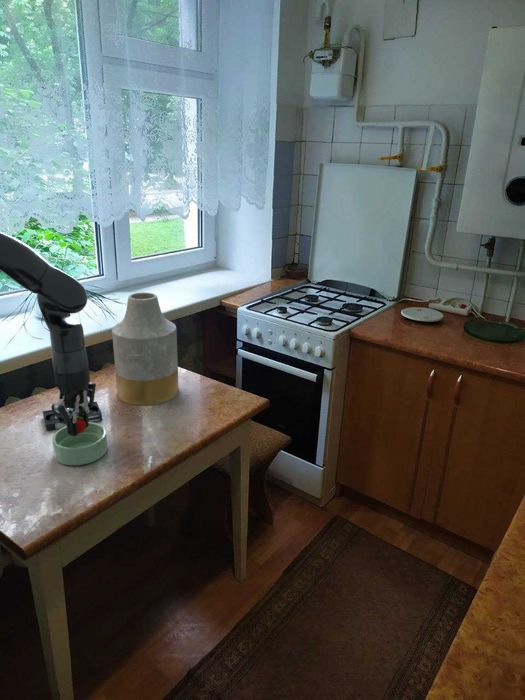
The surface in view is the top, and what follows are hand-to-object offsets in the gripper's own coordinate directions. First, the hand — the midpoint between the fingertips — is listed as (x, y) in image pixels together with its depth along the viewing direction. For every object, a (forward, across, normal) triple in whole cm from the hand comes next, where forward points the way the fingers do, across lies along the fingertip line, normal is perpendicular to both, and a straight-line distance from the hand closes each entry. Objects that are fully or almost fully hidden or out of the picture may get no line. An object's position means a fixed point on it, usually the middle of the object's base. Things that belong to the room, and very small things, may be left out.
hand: (78, 430), depth 119 cm
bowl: (+6, 0, 0) cm, 6 cm away
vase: (+6, -35, -1) cm, 36 cm away
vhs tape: (+6, -13, -12) cm, 19 cm away
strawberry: (0, +1, 0) cm, 1 cm away
